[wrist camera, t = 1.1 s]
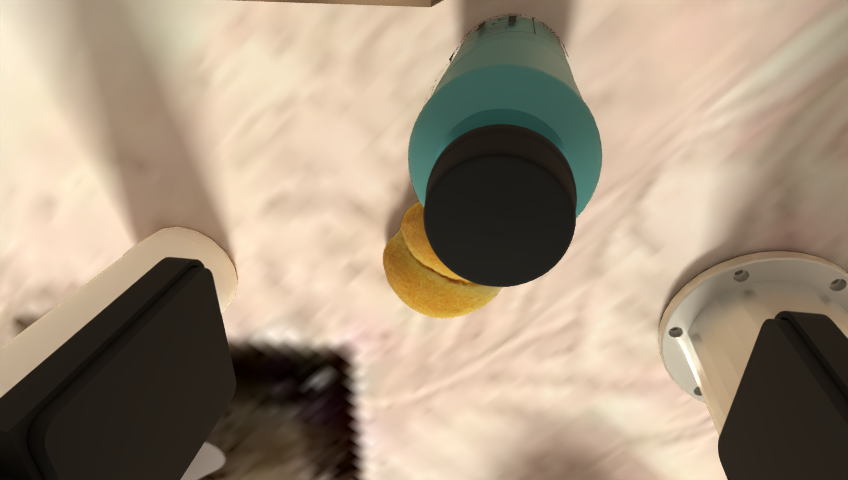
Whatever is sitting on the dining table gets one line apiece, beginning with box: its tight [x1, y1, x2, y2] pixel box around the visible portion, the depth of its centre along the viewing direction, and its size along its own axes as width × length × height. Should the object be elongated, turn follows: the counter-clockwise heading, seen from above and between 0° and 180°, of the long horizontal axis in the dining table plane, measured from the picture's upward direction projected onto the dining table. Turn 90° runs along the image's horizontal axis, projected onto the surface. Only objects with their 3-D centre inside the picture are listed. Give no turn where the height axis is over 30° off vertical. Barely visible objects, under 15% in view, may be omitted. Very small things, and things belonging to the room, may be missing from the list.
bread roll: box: [383, 201, 502, 318], centre depth 35 cm, size 8×9×4 cm
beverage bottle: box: [408, 14, 602, 287], centre depth 22 cm, size 6×7×20 cm
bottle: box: [0, 227, 238, 398], centre depth 28 cm, size 8×8×30 cm
